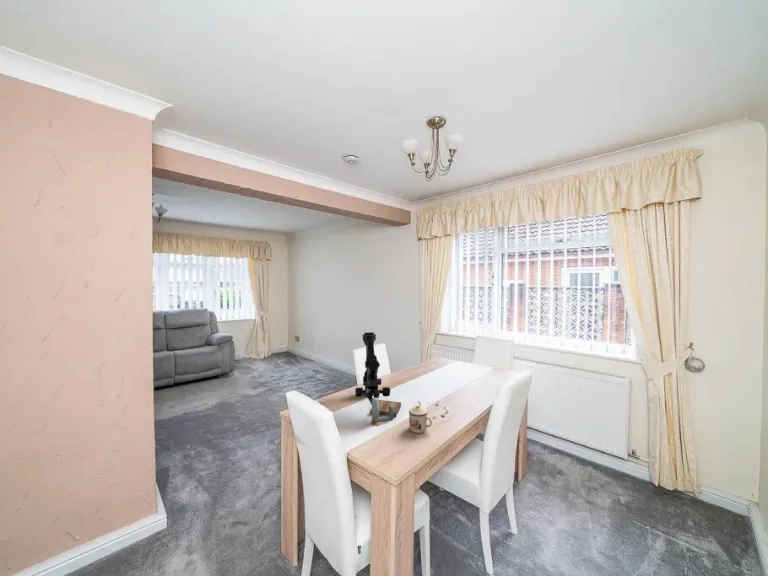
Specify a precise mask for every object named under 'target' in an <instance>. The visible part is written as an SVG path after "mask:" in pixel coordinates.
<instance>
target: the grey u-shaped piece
mask: <svg viewBox="0 0 768 576" xmlns="http://www.w3.org/2000/svg"><path fill="white" fill-rule="evenodd" d="M379 400H380V399H379V398H374V397H372V405H371V409H372V415H371V421H372V422H373V423H378V422H379V421H381V422H382V421H386V420H393V419H394V418H395V417H394V406H392V405H390V406H389V415H388V416H380V415H379Z"/></svg>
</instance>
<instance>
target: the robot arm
mask: <svg viewBox="0 0 768 576" xmlns="http://www.w3.org/2000/svg"><path fill="white" fill-rule="evenodd" d="M376 340H377V336H376V333H374V332H371V331H369V332H364V333H363V334H362V341H363V344H364V345H365V356H366V358H365V361H364V368H365V371H364V373H363V377H362V385H363V387H364V389H363V387H355V390H354V391H355V394H354V396H355V397H356V398H357V397H358V398H359V397H361V398H362V397H363V396H365V398H366V399H368V401H369V403H370V405H371V406H372V398H378V399H379V398H380V394H382V396H383V397H390V395H391V387H389V386H384V387H383V386H382V389H379V386H381V385H382V378H378V373H379V368H380V365H381V364H380V361H379V360H378V358H377V356H376V355H375V345H374V344H375V341H376Z"/></svg>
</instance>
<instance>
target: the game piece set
mask: <svg viewBox="0 0 768 576" xmlns="http://www.w3.org/2000/svg"><path fill="white" fill-rule="evenodd" d="M439 402H440V401H439V399H436V404H437V405H439V404H440V403H439ZM418 403H419V404H418ZM430 403H431V401H429V402H427V403H426V404H427V405H430ZM422 404H423V403H422V401H421V400H420V399H419V400H418V402H417V405H420V406H422ZM443 409H445V410H446V411H443V413H442V412H441V413H440V414H441V416H442V417H445V416H446V413H447V414H449V410H450V409H449V407H447V406H446V405H444V406H443ZM435 418H436V419H437V418H438V416H437V414H433V419H435Z"/></svg>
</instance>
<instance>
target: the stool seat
mask: <svg viewBox="0 0 768 576" xmlns="http://www.w3.org/2000/svg"><path fill="white" fill-rule="evenodd" d="M390 405H392V406H394V418H396V417H397V416H398V414H399V412H400V410H401V407H402V403H401V401H393V400H382V399H379V417H383V416H388V415H389V406H390ZM370 415H371V416H372V408H371V409H370ZM382 423H383V422H382V421H379V422H378V423H373V422H372V420H371V422H370V425H372V426H381V425H382Z"/></svg>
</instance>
